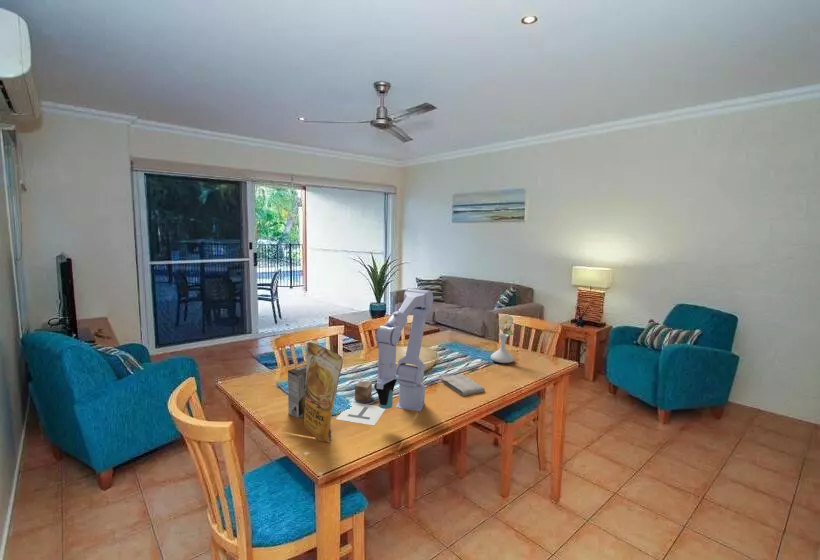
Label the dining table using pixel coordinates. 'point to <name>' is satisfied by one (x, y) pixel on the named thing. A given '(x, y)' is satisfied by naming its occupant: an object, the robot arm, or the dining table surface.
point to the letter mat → (361, 413)
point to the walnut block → (363, 390)
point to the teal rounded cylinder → (390, 401)
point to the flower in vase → (503, 341)
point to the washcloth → (462, 384)
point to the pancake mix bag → (320, 389)
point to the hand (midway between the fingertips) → (385, 401)
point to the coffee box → (297, 391)
